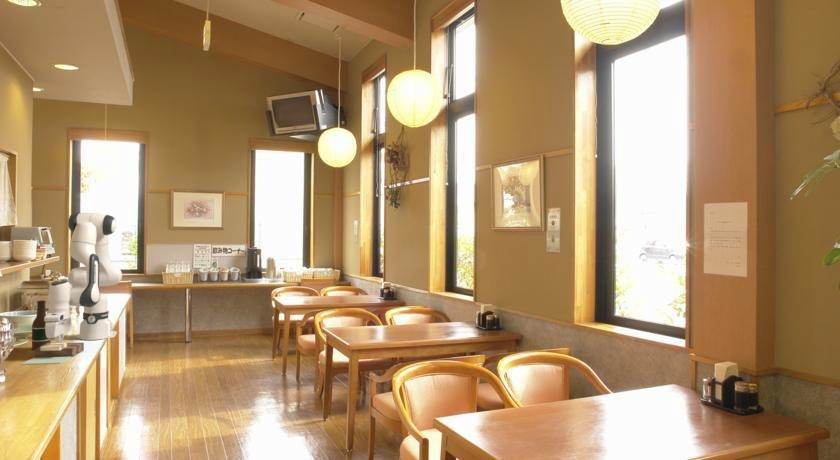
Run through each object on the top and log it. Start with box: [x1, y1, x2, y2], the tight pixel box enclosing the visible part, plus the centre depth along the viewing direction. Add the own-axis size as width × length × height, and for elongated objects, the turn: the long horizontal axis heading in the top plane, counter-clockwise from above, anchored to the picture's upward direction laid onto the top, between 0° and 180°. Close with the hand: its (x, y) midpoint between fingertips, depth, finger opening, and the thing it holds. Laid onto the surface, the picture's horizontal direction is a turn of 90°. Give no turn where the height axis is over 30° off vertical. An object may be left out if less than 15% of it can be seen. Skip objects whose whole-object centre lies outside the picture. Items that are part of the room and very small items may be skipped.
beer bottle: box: [31, 299, 51, 351], centre depth 293 cm, size 8×8×24 cm
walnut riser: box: [34, 342, 85, 358], centre depth 282 cm, size 14×16×4 cm
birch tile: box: [41, 342, 68, 351], centre depth 276 cm, size 8×8×2 cm
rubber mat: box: [21, 357, 72, 366], centre depth 269 cm, size 12×16×1 cm
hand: (59, 344), depth 281 cm, fingers closed
